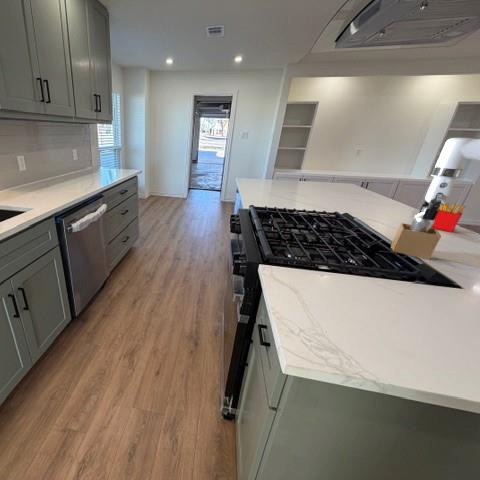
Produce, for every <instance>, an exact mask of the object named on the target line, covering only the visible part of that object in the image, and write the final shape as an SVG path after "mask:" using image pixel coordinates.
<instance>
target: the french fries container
mask: <svg viewBox="0 0 480 480" xmlns="http://www.w3.org/2000/svg"><path fill="white" fill-rule="evenodd" d="M450 205H451V204H450V202H449V203H448V202H446V204H445V205H441V204H440V207H439V210H438V213H437V215H436V217H435V219H434V224H433V225H432V227H431V228H433V229H437V230H439V231H443V232H449V233H453V232H454V230H455V228H456V227H457V225H458V223H459V221H460V219H461V218H462V215H463V214H464V213H463V211H464V210H465V208H466V205H462V206H461V205H460V204H456V203H453V204H452V206H451V207H449V206H450ZM460 206H461V207H460ZM459 208H460V209H459ZM458 210H459V211H458Z"/></svg>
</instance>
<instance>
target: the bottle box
mask: <svg viewBox="0 0 480 480" xmlns="http://www.w3.org/2000/svg"><path fill="white" fill-rule="evenodd" d="M410 227H411V224H409V223H404V222H400V224H399V226H398V229H397V230H396V233H395V235H394V237H393V240H392V242H391V245H390V246H391V247H390V249H391V251H392V252H394V253H398V254H403V255H407V256H410V257H411V256H412V257H414V258H415V257H416V258H419V259H425V260H430V259H431V257H432V255H433V253H434V251H435V250H436V247H437V245H438V243H439V241H440V239H441V238H442V235H441V233H440V232H439V231H438V229H434V228H430V229H429V231H428V233H424V232H418V231H413V230H410Z"/></svg>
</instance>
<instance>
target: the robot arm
mask: <svg viewBox="0 0 480 480" xmlns="http://www.w3.org/2000/svg"><path fill="white" fill-rule="evenodd" d="M469 160H474V161H480V138H473V137H451V138H448V139H447V140H446V141H445V143H444V145H443V147H442V149H441V152H440V154H439V157H438V158H437V161H436V163H435V165H434V167H433V170H432V172H431V174H430V176H431V177H433V178H432V181H431V182H430V184H429V187H428V189H427V191H426V193H425V196H424V201H423V203H422V205H421V208H420V209H419V212H418V214H419V213H421V212H422V211H421V210H422V208H423V207H424V206H427V207H428V209H426V211H425V213H424V215H423V217H422V218H423V219H426V220H434V219H435V217H436V215H437V213H438V210H439V209H440V207H441V205H445V204H446V203H448V200H449V197H450V195H451V193H452V190H453V188H454V185H455V182H456V180H459V179H460V177H461V176H462V174H463V172H464V170H465V168H466V165H467V164H468V161H469Z"/></svg>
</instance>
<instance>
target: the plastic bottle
mask: <svg viewBox="0 0 480 480" xmlns="http://www.w3.org/2000/svg"><path fill="white" fill-rule="evenodd" d="M426 209H428V207H427V206H424V207H423V208H422V210H421V211H422V212H421V213H419V212H418V214H417V213H416V215H414V216H413V217H412V220H411V224H410V225H411V227H410V230H413V231H418V232H424V233H428V231H429V229H430V228H431V227H432V225H433V224H434V220H426V219H423V218H422V217H423V215H424V213H425V211H426Z"/></svg>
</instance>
